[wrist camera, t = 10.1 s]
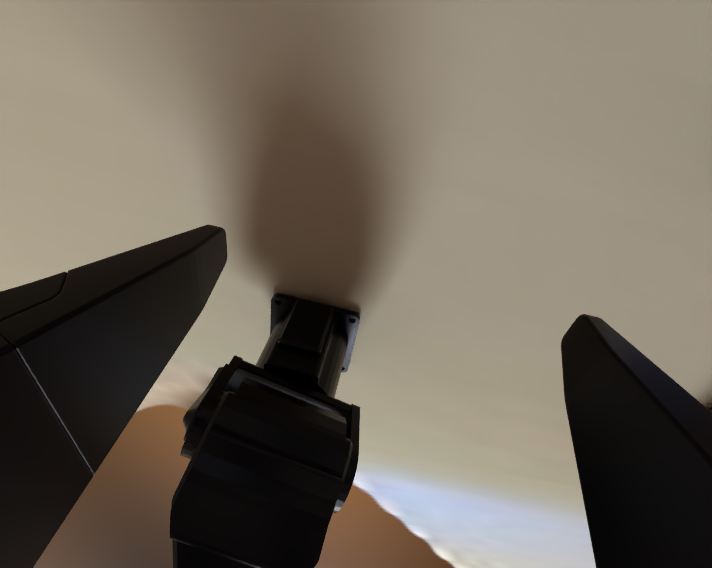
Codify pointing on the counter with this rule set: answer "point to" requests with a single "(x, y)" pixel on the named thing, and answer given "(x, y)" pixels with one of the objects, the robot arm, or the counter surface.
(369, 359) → the counter surface
